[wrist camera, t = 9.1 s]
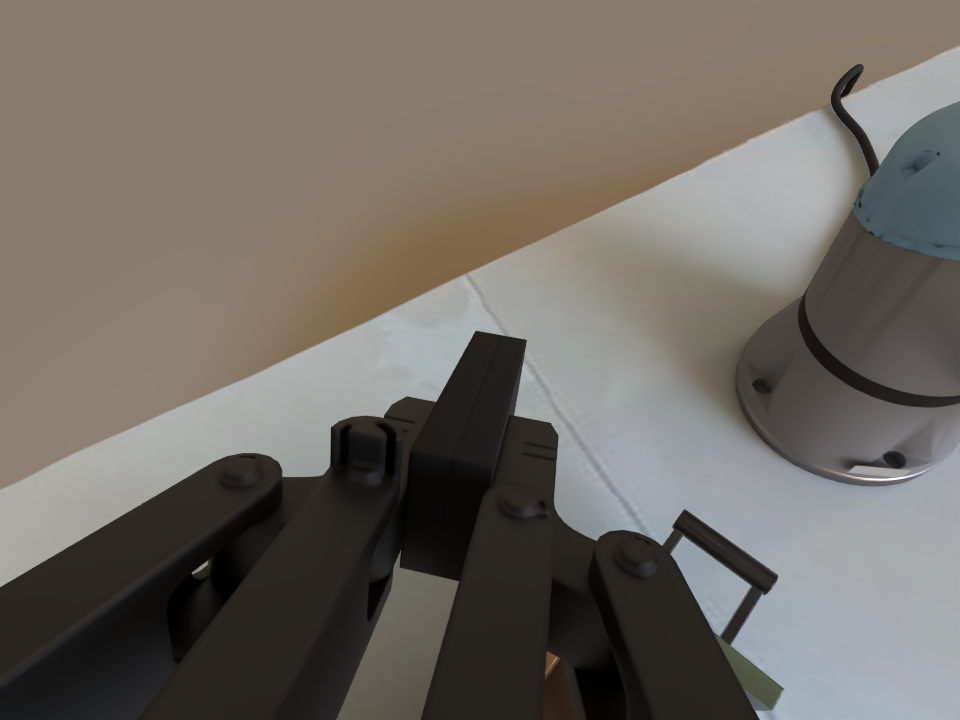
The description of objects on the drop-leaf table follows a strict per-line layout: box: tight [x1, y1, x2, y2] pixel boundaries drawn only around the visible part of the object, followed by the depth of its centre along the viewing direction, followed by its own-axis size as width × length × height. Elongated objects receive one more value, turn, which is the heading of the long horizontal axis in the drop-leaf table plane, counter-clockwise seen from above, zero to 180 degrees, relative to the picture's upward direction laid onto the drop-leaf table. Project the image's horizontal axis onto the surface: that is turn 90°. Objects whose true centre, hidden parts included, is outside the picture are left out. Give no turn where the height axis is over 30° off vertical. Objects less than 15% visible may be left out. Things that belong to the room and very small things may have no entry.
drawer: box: [542, 510, 784, 720], centre depth 30 cm, size 19×10×8 cm, turn 137°
